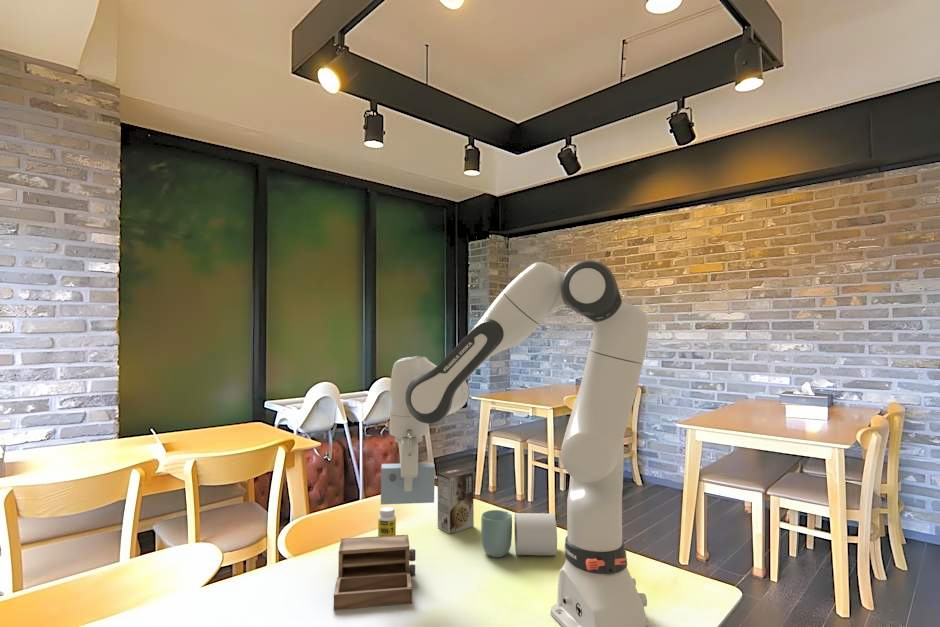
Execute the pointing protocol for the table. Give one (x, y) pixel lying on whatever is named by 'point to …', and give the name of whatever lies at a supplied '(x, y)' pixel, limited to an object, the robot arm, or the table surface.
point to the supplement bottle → (387, 522)
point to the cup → (496, 532)
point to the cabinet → (374, 572)
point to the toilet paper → (535, 534)
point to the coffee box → (455, 500)
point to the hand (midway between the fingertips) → (407, 486)
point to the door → (395, 485)
